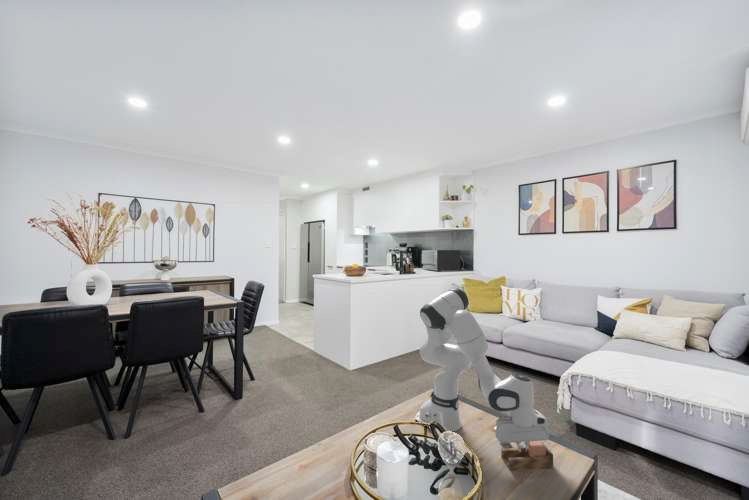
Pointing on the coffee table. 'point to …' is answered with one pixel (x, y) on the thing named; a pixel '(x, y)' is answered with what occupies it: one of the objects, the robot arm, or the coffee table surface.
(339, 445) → the coffee table surface
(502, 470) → the coffee table surface
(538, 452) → the block
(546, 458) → the brown wooden open box
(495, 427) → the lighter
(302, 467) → the coffee table surface
